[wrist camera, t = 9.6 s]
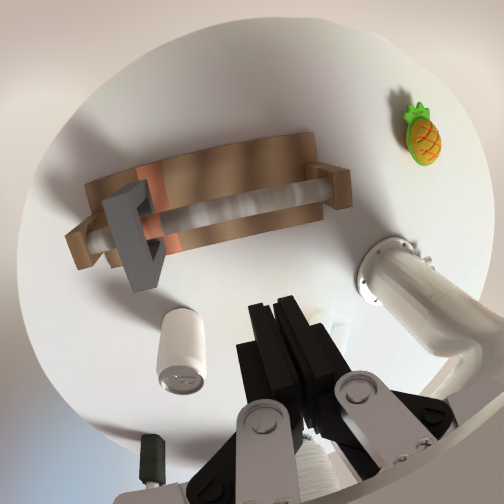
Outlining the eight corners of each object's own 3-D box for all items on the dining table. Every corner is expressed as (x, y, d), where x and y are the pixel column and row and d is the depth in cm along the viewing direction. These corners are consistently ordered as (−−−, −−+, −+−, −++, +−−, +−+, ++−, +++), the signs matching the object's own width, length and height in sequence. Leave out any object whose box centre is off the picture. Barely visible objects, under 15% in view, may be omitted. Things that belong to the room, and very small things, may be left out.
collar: (146, 178, 29) (126, 192, 21) (166, 250, 32) (156, 287, 24) (127, 184, 29) (101, 200, 20) (148, 255, 32) (133, 292, 24)
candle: (166, 442, 54) (170, 528, 32) (149, 444, 54) (149, 527, 31) (157, 433, 52) (158, 524, 29) (139, 435, 52) (136, 523, 29)
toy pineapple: (403, 168, 37) (425, 173, 33) (388, 107, 33) (410, 105, 28) (430, 157, 37) (452, 162, 33) (417, 100, 33) (439, 99, 28)
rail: (310, 132, 33) (345, 131, 25) (320, 217, 38) (353, 241, 29) (87, 183, 31) (53, 199, 22) (113, 265, 35) (92, 301, 27)
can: (165, 303, 39) (156, 359, 28) (207, 310, 41) (212, 367, 30) (160, 335, 41) (153, 392, 30) (199, 342, 43) (202, 399, 32)
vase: (275, 466, 69) (300, 549, 39) (238, 453, 61) (261, 556, 30) (330, 441, 67) (367, 526, 37) (302, 425, 59) (344, 534, 29)
